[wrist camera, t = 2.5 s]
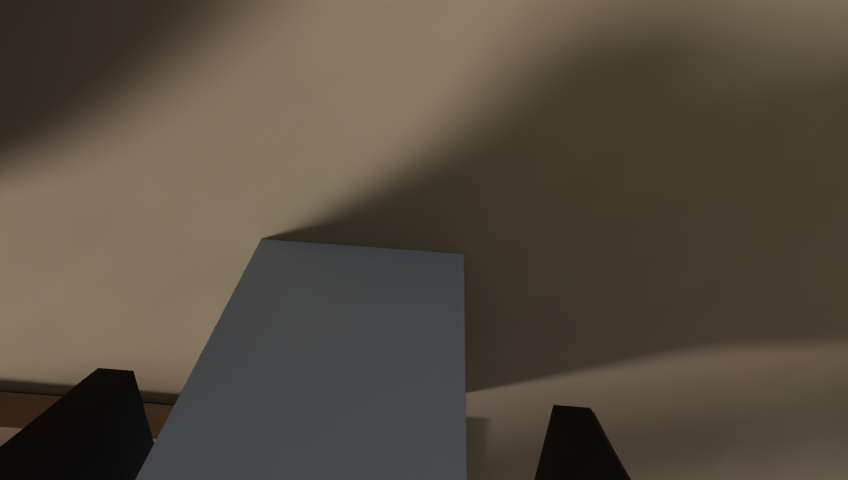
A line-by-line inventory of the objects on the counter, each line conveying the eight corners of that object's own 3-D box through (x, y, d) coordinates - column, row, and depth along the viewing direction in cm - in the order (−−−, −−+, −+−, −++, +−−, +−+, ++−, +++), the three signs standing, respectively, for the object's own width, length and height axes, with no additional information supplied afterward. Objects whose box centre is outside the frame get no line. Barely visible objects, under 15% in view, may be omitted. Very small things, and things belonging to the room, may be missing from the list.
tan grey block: (449, 397, 14) (444, 704, 9) (274, 384, 14) (169, 681, 9) (466, 251, 12) (472, 550, 7) (258, 235, 12) (107, 519, 7)
